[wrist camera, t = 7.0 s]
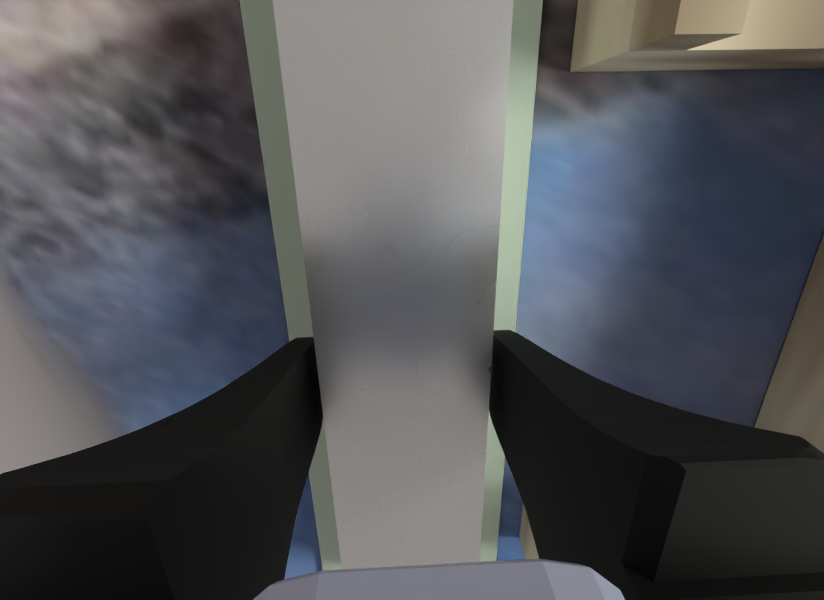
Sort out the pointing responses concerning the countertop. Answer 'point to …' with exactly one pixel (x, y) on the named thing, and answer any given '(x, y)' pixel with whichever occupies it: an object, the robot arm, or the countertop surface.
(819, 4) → the rail stand
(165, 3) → the countertop surface
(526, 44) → the mat
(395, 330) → the rail
